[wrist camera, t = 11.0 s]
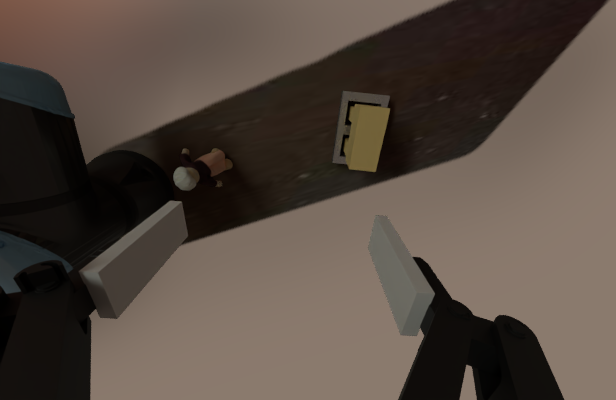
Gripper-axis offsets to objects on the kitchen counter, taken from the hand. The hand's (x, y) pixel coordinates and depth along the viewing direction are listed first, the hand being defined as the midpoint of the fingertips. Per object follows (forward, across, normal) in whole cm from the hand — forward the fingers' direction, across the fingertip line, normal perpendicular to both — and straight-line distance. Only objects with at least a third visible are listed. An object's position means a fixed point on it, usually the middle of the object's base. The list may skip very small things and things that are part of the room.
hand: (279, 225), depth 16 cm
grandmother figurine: (+27, -14, -4) cm, 31 cm away
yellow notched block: (+26, +10, +3) cm, 28 cm away
